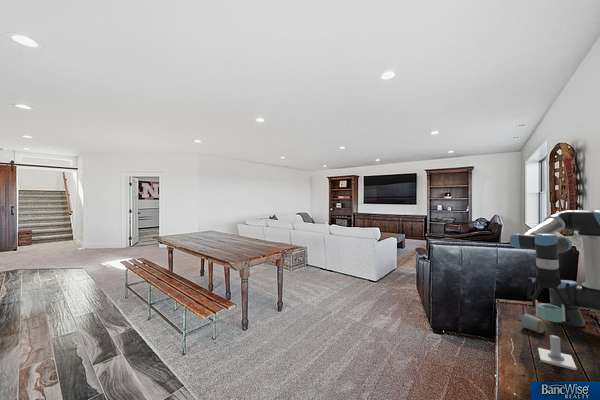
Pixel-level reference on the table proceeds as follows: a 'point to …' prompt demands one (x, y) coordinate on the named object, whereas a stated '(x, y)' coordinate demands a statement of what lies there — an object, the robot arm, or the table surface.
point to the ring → (550, 312)
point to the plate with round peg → (556, 355)
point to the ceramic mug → (533, 323)
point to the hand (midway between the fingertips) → (550, 317)
